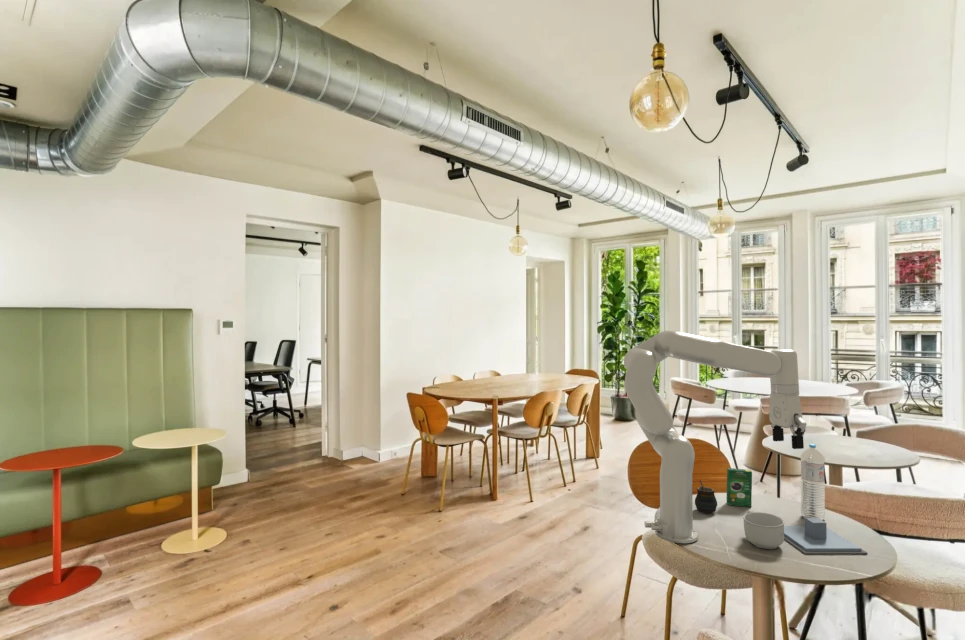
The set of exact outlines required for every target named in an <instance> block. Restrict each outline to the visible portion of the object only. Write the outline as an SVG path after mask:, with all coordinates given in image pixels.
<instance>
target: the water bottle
mask: <svg viewBox="0 0 965 640" xmlns="http://www.w3.org/2000/svg"><path fill="white" fill-rule="evenodd" d="M816 447H817V445H816V444H813V443H809V445H808V449H806V450H804V451H803V452H802V453H801V455H800V461H801V462H800V464H801V465H800V467H801V468H800V469H801V470H800V513H801V514H800V515H801V517H802V518H804V519H805V518H819V519H821V520H822V521H824V520H825V517H826V509H825V508H826V503H825V502H826V501H825V500H826V493H825V492H826V491H825V490H826V487H825V486H826V485H825V483H826V481H825V462H826V461H825V457H824V456H823V454H822V453H821V452H820V451H819V450H817V449H816Z"/></svg>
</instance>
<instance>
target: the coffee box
mask: <svg viewBox="0 0 965 640" xmlns="http://www.w3.org/2000/svg"><path fill="white" fill-rule="evenodd" d="M752 487H753V472H752V470H751V469H743V468H742V469H741V468H734V467H731V468H730V467H727V469H726V504H727V505H728V506H737V507H744V508H745V507H746V508H751V507H752V490H753V488H752Z"/></svg>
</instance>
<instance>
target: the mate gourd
mask: <svg viewBox="0 0 965 640" xmlns="http://www.w3.org/2000/svg"><path fill="white" fill-rule="evenodd" d="M699 483H700V485H701V486H700V487H697V489H696V490H697V491H696V492H697V494H696V496H695V499H694V505H695V508H696V509H697V510H698V512H699V513H701V514H706V515H711V514H713V513H715V511H717V507H718V501H717V498H716V496H715V489H714V488H712V487H708V486H704V484H703V482H702V480H701V479H700V480H699Z"/></svg>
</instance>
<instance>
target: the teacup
mask: <svg viewBox="0 0 965 640" xmlns="http://www.w3.org/2000/svg"><path fill="white" fill-rule="evenodd" d="M742 518H743V529H744V530H743V531H744V536H745V538H746V539H747V540H748V541H749V542H750V543H751V544H752V545H754V546H755V547H757V548H759V549H764V550H773V549H777V548H778V547H780V546H781V545H783V543H784V541H785V540H784V526H785V521H784V519H783V518H781V517H779V516H777V515H776V514H772V513H768V512H758V511H757V512H756V511H754V510H750V509H749V510H747V512H746V513H745V514H743V516H742Z"/></svg>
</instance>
